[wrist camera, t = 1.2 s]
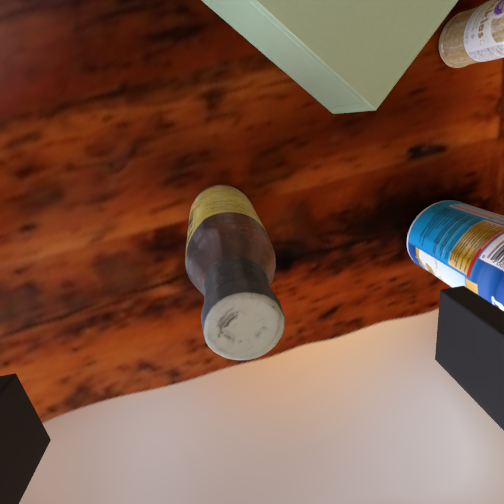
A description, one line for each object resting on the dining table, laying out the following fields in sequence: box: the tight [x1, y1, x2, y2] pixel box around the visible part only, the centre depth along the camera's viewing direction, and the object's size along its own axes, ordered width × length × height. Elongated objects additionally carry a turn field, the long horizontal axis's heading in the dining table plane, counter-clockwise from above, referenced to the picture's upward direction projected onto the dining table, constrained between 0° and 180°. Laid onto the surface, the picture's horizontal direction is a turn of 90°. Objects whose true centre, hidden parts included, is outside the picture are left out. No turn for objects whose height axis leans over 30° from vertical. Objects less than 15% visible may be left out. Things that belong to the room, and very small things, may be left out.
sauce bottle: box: [185, 185, 285, 360], centre depth 25 cm, size 6×6×20 cm
